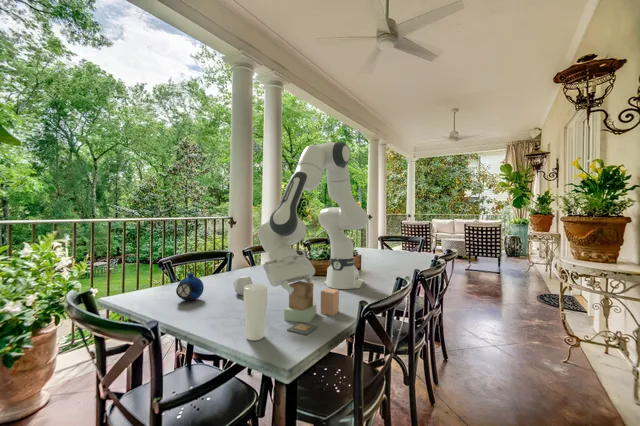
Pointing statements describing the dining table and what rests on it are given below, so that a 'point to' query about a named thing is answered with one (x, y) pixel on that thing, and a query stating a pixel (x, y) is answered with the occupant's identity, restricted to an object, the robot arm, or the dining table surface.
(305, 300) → the walnut block
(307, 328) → the card
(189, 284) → the bomb
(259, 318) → the drinking glass
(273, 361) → the dining table surface
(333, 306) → the terracotta block
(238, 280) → the die
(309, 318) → the sage base block
